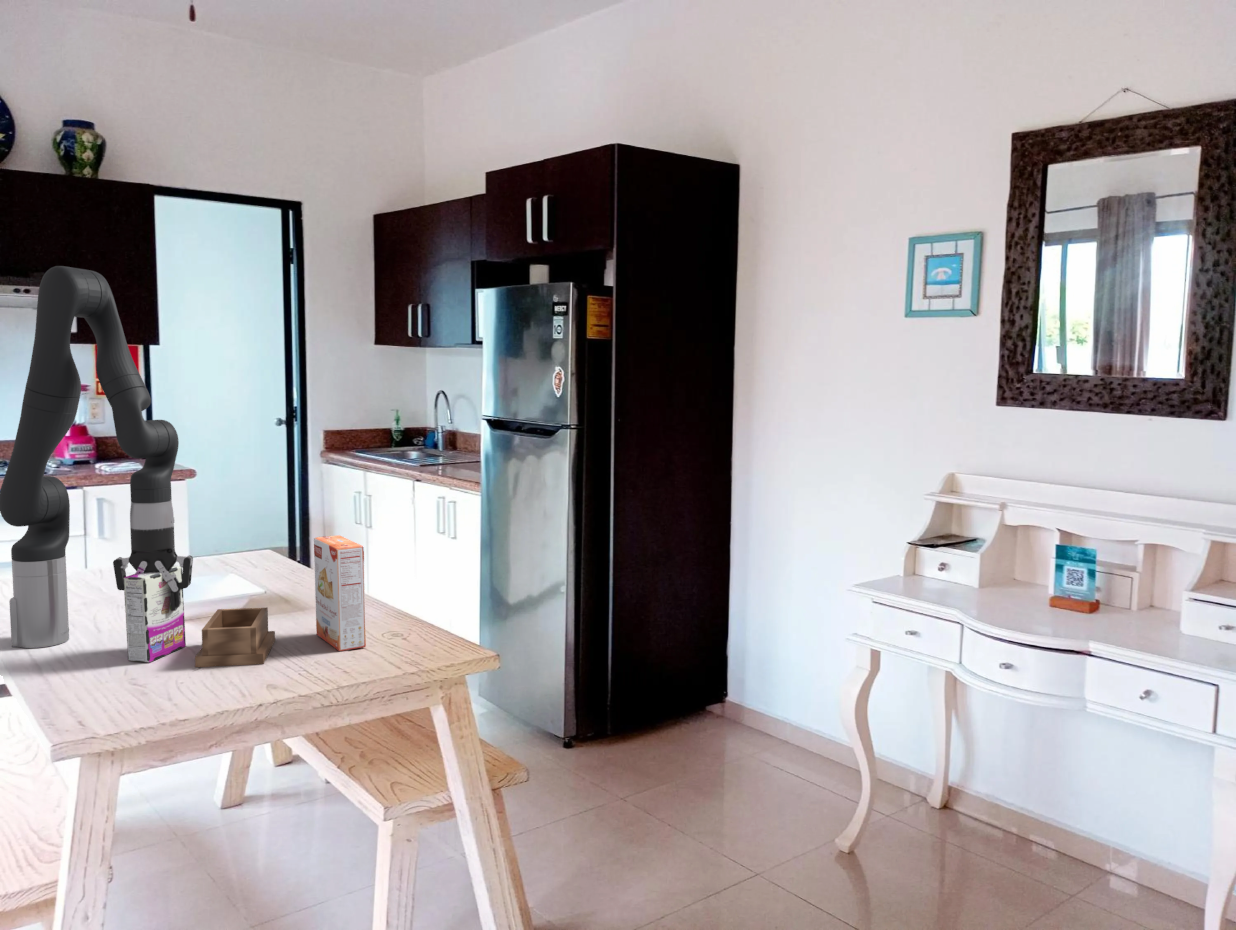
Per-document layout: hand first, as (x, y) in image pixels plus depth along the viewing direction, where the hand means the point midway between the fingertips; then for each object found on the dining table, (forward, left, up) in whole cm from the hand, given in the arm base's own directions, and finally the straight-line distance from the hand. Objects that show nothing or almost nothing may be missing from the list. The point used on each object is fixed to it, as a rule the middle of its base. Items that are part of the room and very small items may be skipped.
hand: (155, 610), depth 186 cm
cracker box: (+34, +3, -9) cm, 35 cm away
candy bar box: (0, 0, -9) cm, 9 cm away
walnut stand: (+15, -2, -9) cm, 17 cm away
